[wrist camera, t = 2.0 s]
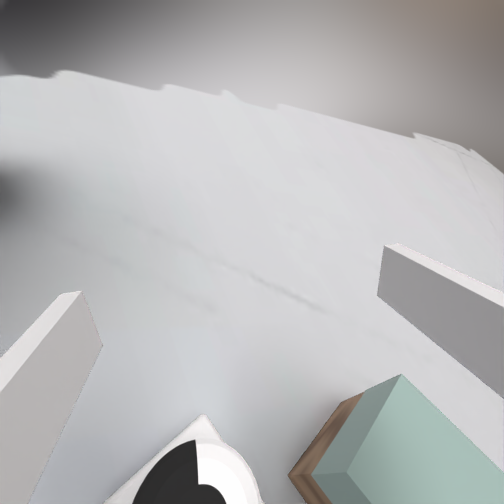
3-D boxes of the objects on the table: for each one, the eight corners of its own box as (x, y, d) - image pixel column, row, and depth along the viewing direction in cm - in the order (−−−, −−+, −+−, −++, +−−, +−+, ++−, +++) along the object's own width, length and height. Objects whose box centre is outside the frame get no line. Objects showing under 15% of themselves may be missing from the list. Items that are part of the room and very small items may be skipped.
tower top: (420, 621, 16) (497, 661, 12) (310, 474, 19) (346, 472, 15) (455, 485, 21) (516, 485, 17) (365, 390, 24) (401, 373, 21)
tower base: (370, 596, 19) (419, 621, 16) (286, 475, 22) (310, 473, 19) (412, 487, 24) (456, 487, 21) (340, 402, 28) (366, 390, 24)
